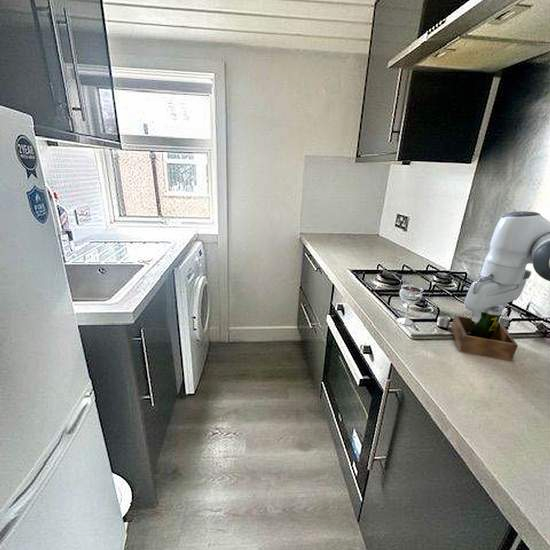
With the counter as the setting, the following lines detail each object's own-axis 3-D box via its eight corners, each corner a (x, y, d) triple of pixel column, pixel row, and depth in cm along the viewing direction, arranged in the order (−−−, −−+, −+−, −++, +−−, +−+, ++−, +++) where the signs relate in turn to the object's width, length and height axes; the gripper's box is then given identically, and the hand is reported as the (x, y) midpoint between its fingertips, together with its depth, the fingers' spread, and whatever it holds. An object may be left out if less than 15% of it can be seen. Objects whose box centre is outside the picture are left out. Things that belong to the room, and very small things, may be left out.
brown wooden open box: (496, 336, 92) (501, 322, 90) (512, 361, 81) (518, 345, 79) (450, 328, 96) (454, 314, 94) (459, 351, 85) (464, 335, 83)
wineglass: (393, 314, 104) (399, 282, 99) (414, 317, 102) (421, 285, 98) (394, 324, 97) (401, 290, 93) (417, 328, 96) (425, 293, 91)
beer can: (465, 342, 89) (476, 305, 85) (473, 336, 92) (484, 301, 88) (485, 351, 85) (497, 313, 81) (493, 345, 88) (505, 308, 84)
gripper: (490, 282, 73) (474, 331, 78) (535, 271, 82) (518, 316, 87) (465, 273, 79) (452, 319, 84) (510, 264, 87) (495, 306, 92)
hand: (486, 317), depth 85 cm, fingers open, 8 cm apart
